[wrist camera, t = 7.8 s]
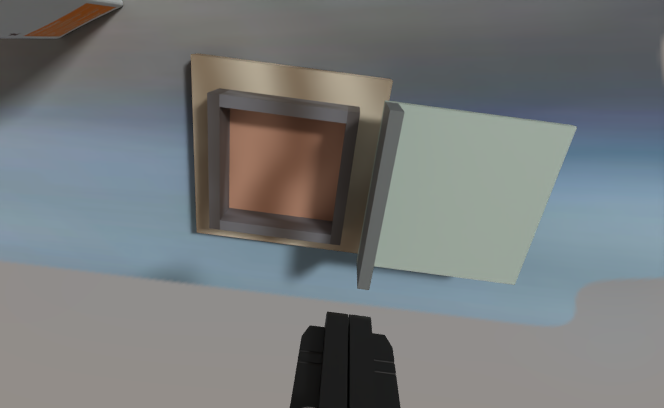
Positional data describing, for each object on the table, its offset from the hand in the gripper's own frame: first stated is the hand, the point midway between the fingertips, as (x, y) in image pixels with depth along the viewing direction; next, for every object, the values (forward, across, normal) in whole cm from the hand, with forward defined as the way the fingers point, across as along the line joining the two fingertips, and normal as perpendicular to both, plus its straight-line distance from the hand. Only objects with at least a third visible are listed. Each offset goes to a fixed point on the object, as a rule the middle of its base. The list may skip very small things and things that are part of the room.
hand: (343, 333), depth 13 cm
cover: (+14, -8, 0) cm, 16 cm away
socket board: (+18, +5, 0) cm, 19 cm away
